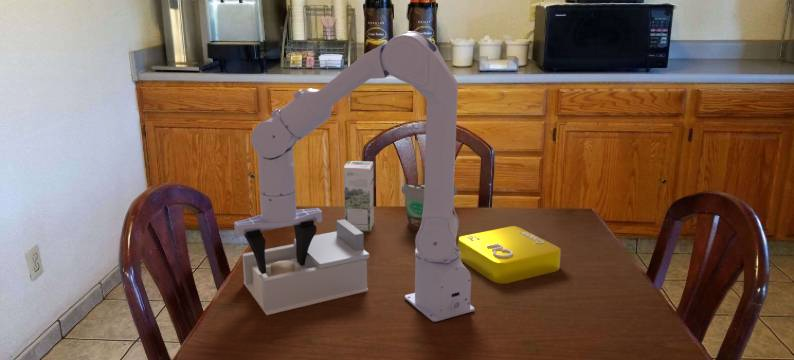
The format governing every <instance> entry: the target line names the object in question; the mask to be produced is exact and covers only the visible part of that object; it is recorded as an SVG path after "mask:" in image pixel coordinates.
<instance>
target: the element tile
mask: <svg viewBox="0 0 794 360" xmlns="http://www.w3.org/2000/svg"><path fill="white" fill-rule="evenodd" d="M457 246H458V248H459V249H460V258H461V261H462V263H464V264H466V265H467V266H469V267H470V268H472V269H473V270H475V271H476V272H478V273H479V274H481V275H483V276H484V277H485V278H486V279H488V280H489V281H491V282H493V283H496V284H501V285H502V284H511V283H513V282H518V281H519V282H520V281H522V280H526V279H530V278H534V277H538V276H543V275H546V274H547V275H548V274H550V273H551V274H552V273H554V272H558V271H559V270H560V269H561V267H560V266H561V265H560V264H561V256H562V255H561V253H562V250H561V247H559V246H557V245H555V244H554V243H551V242H549V241H547V240H545V239H543V238H541V237H540V236H537V235H535V234H533V233H531V232H529V231H528V230H525V229H524V228H521V227H519V226H516V225H513V226H506V227H501V228H497V229H491V230H486V231H481V232H476V233H472V234H466V235H461V236H459V237H458V238H457Z"/></svg>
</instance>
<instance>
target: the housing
mask: <svg viewBox="0 0 794 360" xmlns="http://www.w3.org/2000/svg"><path fill="white" fill-rule="evenodd" d="M241 255H242V256H241V257H242V270H243V285H244V286H245V287H246V289H247V290H248V291H249V293H250V294H251V295H252V297H253V298H254V300H255V301H256V303H257V304H258V305H259V306H260V308H261V309H262V311H263V312H264V314H265V316H269V315H273V314H278V313H281V312H285V311H290V310H293V309H294V310H295V309H297V308H302V307H307V306H311V305H314V304H319V303H323V302H327V301H331V300H332V301H333V300H336V299H339V298H344V297H347V296H352V295H356V294H361V293H365V292H368V291H369V288H368V263H367V260H368V259H363V260H358V261H354V262H349V263H344V264H340V265H335V266H330V267H326V268H321V269H320V268H319V267H318V266H317V265H316V264H315V263H314V262H313V261H312V260H311V259H310V258H309V257H308V256H306V261H305V265H303V266H301V265H300V264H299V263H298V262H297V257H296V245H295V244H294V243H292V244H287V245H280V246H277V247H271V248H265V263H266V273H265V274H261V272H260V271H259V270H258V265H257V261H256V258H255V256H254V253H253V251H250V252H249V251H248V252H245V253H242V254H241ZM277 261H291V262H293V263H294V266H295V271H294V272H289V273H285V274H280V275H275V276H271V264H272V263H274V262H277Z"/></svg>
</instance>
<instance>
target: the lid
mask: <svg viewBox="0 0 794 360" xmlns="http://www.w3.org/2000/svg"><path fill="white" fill-rule="evenodd" d="M335 226H336V228H335V229H336V231H332V232H326V233H321V234H315V235H314V237H313V239H312V241H311V243H310V246H309V249H308V252H307V256H308V257H309V258H310V259H311V260H312V261H313V262H314V263H315V264H316V265H317V266H318V267H319V268H320V269H321V268H326V267H330V266H335V265H340V264H344V263H349V262H354V261H358V260H363V259H367V260H368V259H370V253H369V252H368V251H367V250H366V249H365V248H364V244H365V243H364V237H365V236H364V232H363V231H360V230H358V229H357V228H356V227H354V226H353V225H352V224H350V223H349V222H348V221H346V220H345V218H343V219H337V220H336V225H335ZM293 244H295V245H296V238H294V240H293Z"/></svg>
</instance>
